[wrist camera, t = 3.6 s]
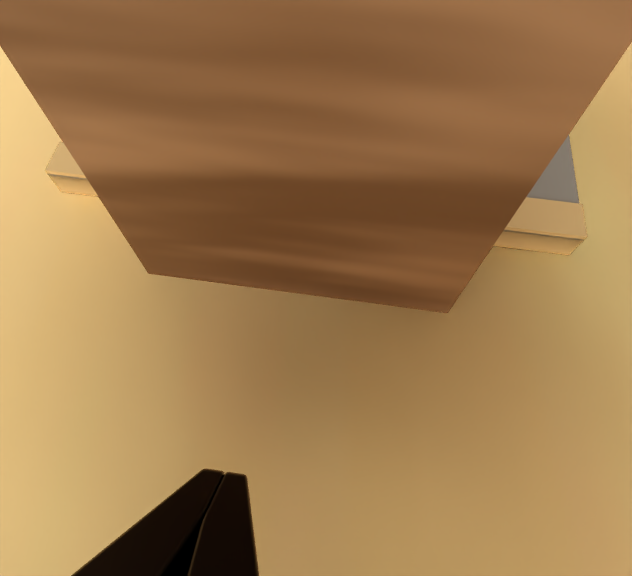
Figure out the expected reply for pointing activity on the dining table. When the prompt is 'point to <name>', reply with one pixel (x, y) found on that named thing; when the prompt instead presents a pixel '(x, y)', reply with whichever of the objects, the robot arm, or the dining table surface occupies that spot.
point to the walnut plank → (315, 128)
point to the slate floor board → (521, 233)
